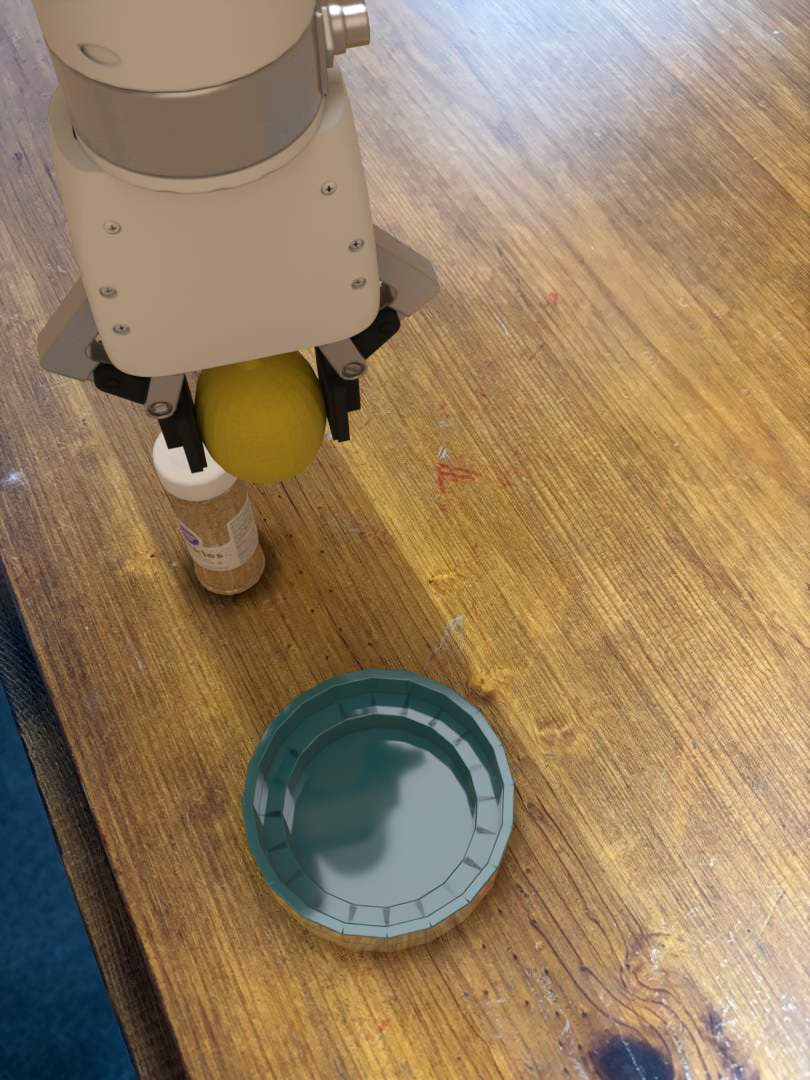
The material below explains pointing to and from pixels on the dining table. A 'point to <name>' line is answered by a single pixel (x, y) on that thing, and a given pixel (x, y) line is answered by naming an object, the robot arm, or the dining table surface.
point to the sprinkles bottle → (212, 520)
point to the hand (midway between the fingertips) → (264, 428)
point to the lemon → (261, 416)
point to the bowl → (379, 809)
